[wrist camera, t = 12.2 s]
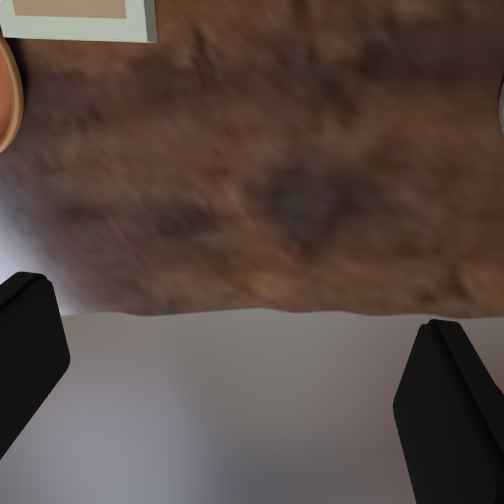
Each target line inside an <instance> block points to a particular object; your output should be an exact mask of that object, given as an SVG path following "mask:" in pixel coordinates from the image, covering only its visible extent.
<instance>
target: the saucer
mask: <svg viewBox="0 0 504 504" xmlns="http://www.w3.org/2000/svg"><path fill="white" fill-rule="evenodd" d="M23 107H24V96H23V87H22V82H21V77H20V73H19V70H18V67H17V64H16V61H15V58H14V56H13V54H12V52H11V49H10V47H9V45H8V43H7V41H6V40H5V38H4V37H3V34H2V33H1V31H0V153H1V152H3V151H4V150H5V149H6V148H7V147H8V146H9V145H10V143H11V142H12V141H13V139H14V138H15V136H16V134H17V132H18V130H19V127H20V124H21V121H22V116H23Z"/></svg>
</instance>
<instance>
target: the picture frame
mask: <svg viewBox="0 0 504 504" xmlns="http://www.w3.org/2000/svg"><path fill="white" fill-rule="evenodd" d="M0 25H1V29H2V33H3V37H10V38H28V39H57V40H87V41H117V42H146V43H158V42H157V29H156V16H155V4H154V0H0Z"/></svg>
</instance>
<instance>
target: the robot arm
mask: <svg viewBox="0 0 504 504" xmlns="http://www.w3.org/2000/svg"><path fill="white" fill-rule="evenodd" d="M499 119H500V123H501V128H502V131H503V133H504V82H503V85H502V88H501V93H500V99H499ZM69 364H70V353H69V349H68V345H67V341H66V337H65V333H64V329H63V325H62V321H61V317H60V313H59V308H58V304H57V300H56V296H55V292H54V288H53V285H52V283H51V281H49V280H47V277H46V276H45V275H43V274H39V273H31V272H17V273H15V274H14V275H12V276H11V277H10V278H8V279H7V280H6V281H5V282H3V283H2V284H1V285H0V459H1V458H2V457H3V456H4V454H5V453H6V452H7V450H8V449H9V447H10V446H11V445H12V443H13V442H14V441H15V439H16V438H17V437H18V435H19V434H20V433H21V431H22V430H23V429H24V427H25V426H26V425H27V423H28V422H29V421H30V419H31V418H32V416H33V415H34V414H35V412H36V411H37V410H38V408H39V407H40V406H41V404H42V403H43V402H44V400H45V399H46V398H47V396H48V395H49V394H50V392H51V391H52V389H53V388H54V387H55V385H56V384H57V383H58V381H59V380H60V379H61V377H62V376H63V374H64V373H65V372H66V370H67V369H68V367H69ZM393 412H394V418H395V421H396V425H397V429H398V433H399V437H400V441H401V445H402V449H403V452H404V456H405V460H406V464H407V468H408V472H409V476H410V480H411V484H412V487H413V491H414V495H415V499H416V503H417V504H504V394H503V393H502V391H501V390H500V389H499V388H498V387H497V386H496V385H495V383H494V381H493V379H492V378H491V376H490V374H489V373H488V371H487V369H486V368H485V366H484V364H483V362H482V361H481V359H480V357H479V356H478V354H477V352H476V351H475V349H474V347H473V345H472V344H471V342H470V340H469V339H468V337H467V335H466V333H465V332H464V330H463V328H462V327H461V325H460V324H459V323H457V322H453V321H444V320H437V319H432V320H430V321H429V322H428V324H422V325H421V326H420V328H419V330H418V333H417V336H416V339H415V342H414V344H413V348H412V350H411V353H410V356H409V358H408V361H407V364H406V367H405V370H404V373H403V376H402V378H401V381H400V384H399V387H398V390H397V392H396V395H395V398H394V402H393Z"/></svg>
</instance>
